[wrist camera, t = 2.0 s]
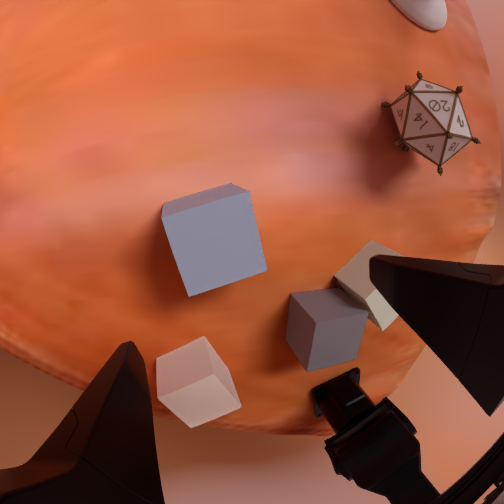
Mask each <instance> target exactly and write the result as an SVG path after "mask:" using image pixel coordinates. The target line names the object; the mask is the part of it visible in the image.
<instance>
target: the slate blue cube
mask: <svg viewBox="0 0 504 504" xmlns="http://www.w3.org/2000/svg"><path fill="white" fill-rule="evenodd" d="M161 219H162V222H163V225H164V228H165V231H166V234H167V237H168V240H169V243H170V246H171V249H172V252H173V255H174V258H175V260H176V263H177V266H178V269H179V272H180V274H181V277H182V280H183V283H184V285H185V288H186V290H187V293H188V296H189V297H190V296H193V295H197V294H200V293H203V292H206V291H209V290H212V289H215V288H218V287H221V286H224V285H227V284H230V283H233V282H236V281H239V280H242V279H245V278H248V277H251V276H253V275H256V274H259V273H262V272H265V271H267V267H266V262H265V258H264V254H263V249H262V245H261V240H260V236H259V232H258V227H257V223H256V219H255V214H254V210H253V206H252V202H251V197H250V193H249V191H247V190H245V189H243V188H241V187H238V186H236V185H234V184H232V183H230V184H226V185H222V186H219V187H215V188H212V189H209V190H205V191H202V192H198V193H195V194H192V195H189V196H185V197H182V198H179V199H176V200H173V201H170V202H167V203H163V209H162V216H161Z"/></svg>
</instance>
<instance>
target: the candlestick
mask: <svg viewBox="0 0 504 504" xmlns="http://www.w3.org/2000/svg"><path fill="white" fill-rule="evenodd" d="M391 1H392V3H393V4H394V5H395V6H396V7H397V8H398V9H399V10H400V11H401V12H402V13H403V14H404V15H406V16H407V17H408V18H409V19H410V20H412V21H413V22H414V23H416V24H417V25H419V26H421V27H423V28H425V29H427V30H432V31H435V30H439V29H442V28H443V27H444V26H445V24H446V20H447V9H446V4H445V1H444V0H391Z"/></svg>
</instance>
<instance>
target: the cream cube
mask: <svg viewBox="0 0 504 504" xmlns="http://www.w3.org/2000/svg"><path fill="white" fill-rule="evenodd" d="M156 378H157V398H158V399H159V400H160V401H161V402H162V403H163V404H164V405H165V406H166V407H167V408H168V409H170V410H171V411H172V412H173V413H174V414H175V415H176V416H177V417H178V418H180V419H181V420H182V421H183V422H184V423H185V424H187V425H188V426H189V427H190V428H193V427H195V426H198V425H201V424H203V423H206V422H208V421H211V420H213V419H216V418H218V417H220V416H223V415H225V414H228V413H230V412H232V411H234V410H237V409H239V408H241V407H242V406H241V403H240V400H239V398H238V395H237V392H236V389H235V386H234V383H233V380H232V377H231V375H230V372H229V369H228V368H227V367H226V365H225V364H224V363H223V361H222V360H221V359H220V357H219V356H218V354H217V353H216V352H215V350H214V349H213V347H212V346H211V344H210V343H209V342H208V340H207V339H206V337H205V336H202V337H200V338H198V339H196V340H194V341H192V342H190V343H188V344H186V345H184V346H182V347H180V348H177V349H175V350H173V351H171V352H169V353H167V354H165V355H162V356H160V357H158V358H156Z"/></svg>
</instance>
